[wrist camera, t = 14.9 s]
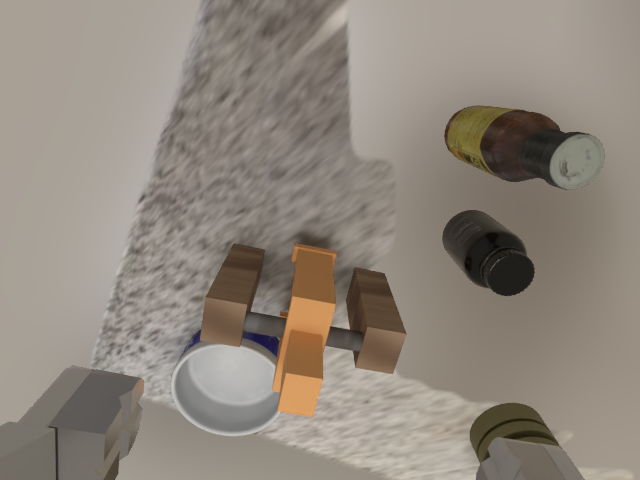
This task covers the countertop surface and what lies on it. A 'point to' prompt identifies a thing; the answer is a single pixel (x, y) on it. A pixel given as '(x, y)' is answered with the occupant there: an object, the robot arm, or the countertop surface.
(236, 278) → the crossbar stand
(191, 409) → the dog bowl
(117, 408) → the robot arm
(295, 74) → the countertop surface
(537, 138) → the sauce bottle
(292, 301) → the orange stepped block
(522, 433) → the piston
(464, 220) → the supplement bottle
